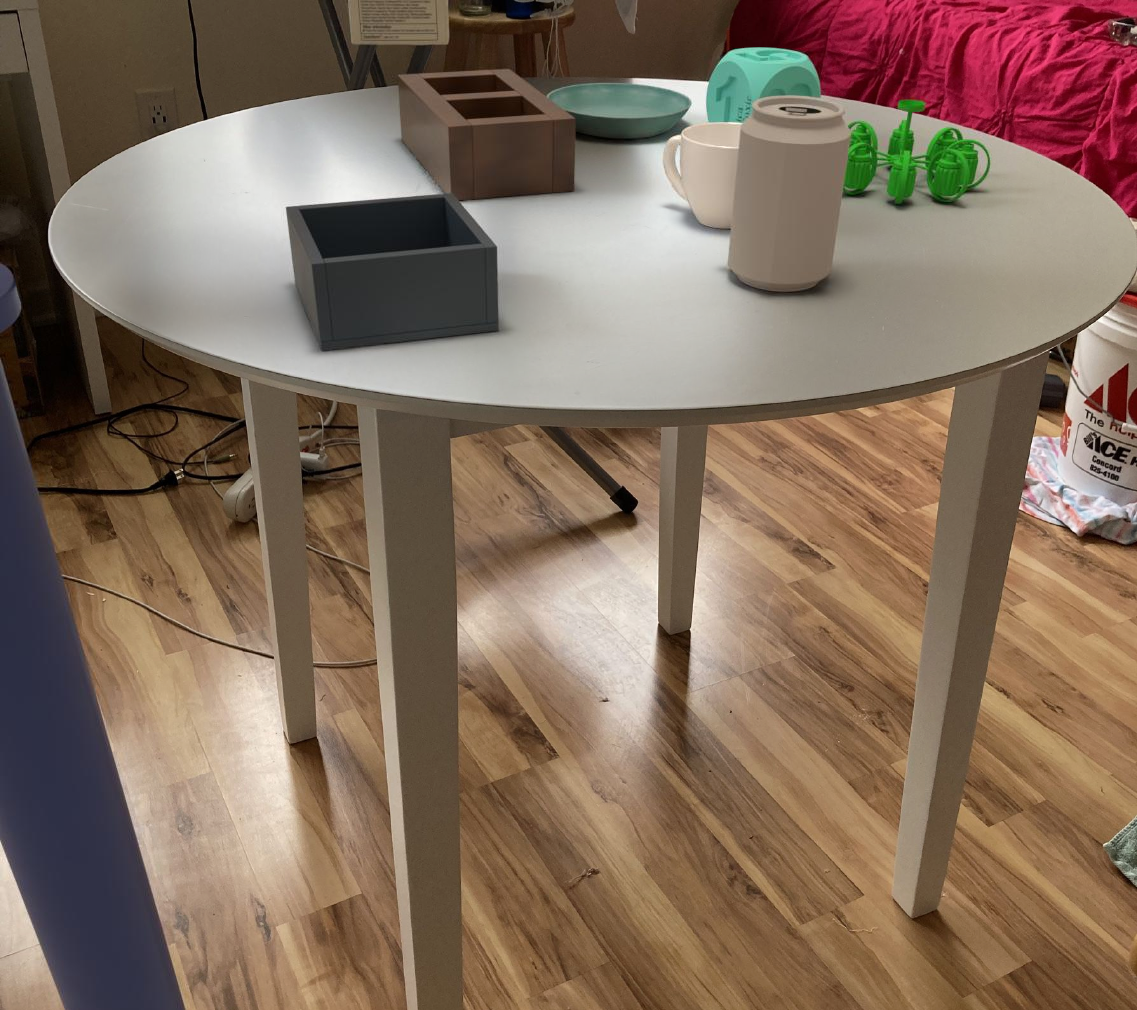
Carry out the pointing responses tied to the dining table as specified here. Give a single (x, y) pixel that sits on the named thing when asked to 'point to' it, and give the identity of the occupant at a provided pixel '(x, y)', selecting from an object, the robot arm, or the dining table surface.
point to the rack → (487, 134)
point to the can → (788, 192)
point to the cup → (706, 170)
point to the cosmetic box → (399, 22)
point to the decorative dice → (757, 81)
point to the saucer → (621, 109)
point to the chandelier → (941, 157)
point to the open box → (393, 270)
